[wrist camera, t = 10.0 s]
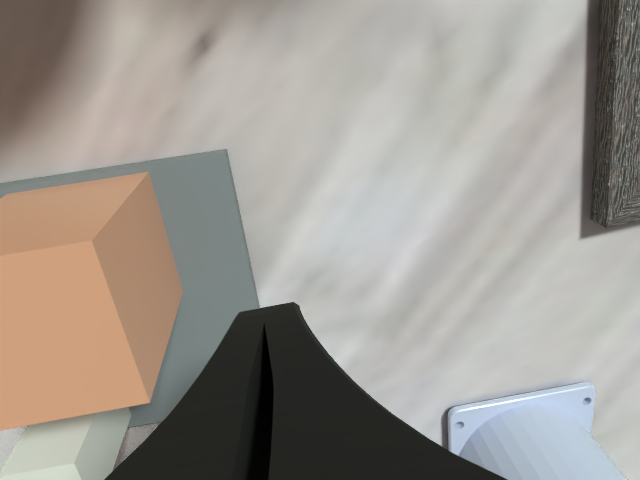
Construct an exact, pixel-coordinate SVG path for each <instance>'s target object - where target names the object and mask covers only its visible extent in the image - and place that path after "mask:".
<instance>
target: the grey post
mask: <svg viewBox="0 0 640 480" xmlns="http://www.w3.org/2000/svg"><path fill="white" fill-rule="evenodd" d="M130 418H131V412H130V410H129V407H125V408H119V409H114V410H108V411H103V412H98V413H92V414H87V415H81V416H76V417H70V418H65V419H60V420H54V421H49V422H43V423H38V424H32V425H28V426H27V428H26V429H25V431H24V433H23V434H22V436H21V438H20V440H19V441H18V443H17V445H16V446H15V448H14V450H13V451H12V453H11V455H10V456H9V458H8V460H7V461H6V463H5V465H4V466H3V468H2V470H1V471H0V480H104V479H105V478H106V477H107V476H108V475H109V474H110V473H112V471H113V468H114V465H115V462H116V459H117V456H118V453H119V450H120V447H121V444H122V441H123V439H124V436H125V433H126V430H127V427H128V424H129V421H130Z"/></svg>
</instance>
